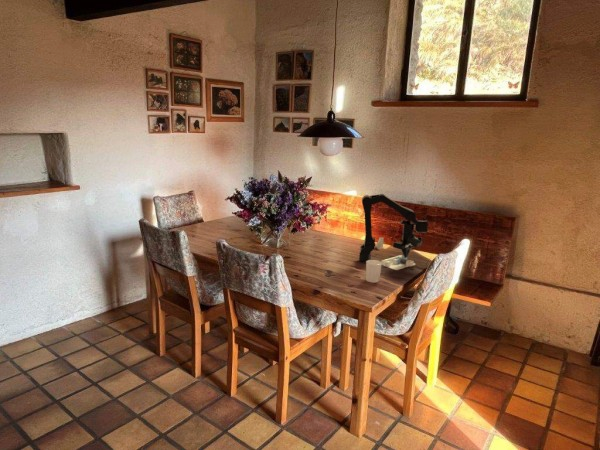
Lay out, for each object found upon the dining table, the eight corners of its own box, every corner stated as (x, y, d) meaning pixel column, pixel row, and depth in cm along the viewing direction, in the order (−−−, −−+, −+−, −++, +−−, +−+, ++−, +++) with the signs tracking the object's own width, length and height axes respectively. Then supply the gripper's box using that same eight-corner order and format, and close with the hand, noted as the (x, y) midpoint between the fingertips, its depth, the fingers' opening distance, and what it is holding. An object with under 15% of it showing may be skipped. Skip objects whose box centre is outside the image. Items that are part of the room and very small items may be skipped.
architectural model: (374, 249, 279) (375, 238, 277) (378, 246, 284) (379, 236, 283) (379, 250, 277) (380, 239, 275) (383, 247, 283) (384, 237, 281)
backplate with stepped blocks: (396, 271, 236) (397, 265, 235) (381, 266, 245) (381, 259, 244) (415, 265, 248) (416, 259, 247) (400, 260, 256) (401, 254, 255)
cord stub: (410, 266, 243) (410, 262, 242) (396, 261, 250) (397, 257, 249) (413, 265, 245) (413, 261, 244) (399, 261, 252) (400, 256, 251)
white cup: (378, 277, 227) (379, 259, 224) (381, 283, 219) (383, 264, 217) (363, 277, 226) (365, 259, 224) (366, 283, 219) (367, 264, 216)
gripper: (409, 237, 231) (407, 264, 235) (429, 232, 242) (427, 258, 246) (393, 232, 239) (391, 259, 243) (413, 228, 251) (411, 253, 254)
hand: (405, 257), depth 246 cm, fingers closed
